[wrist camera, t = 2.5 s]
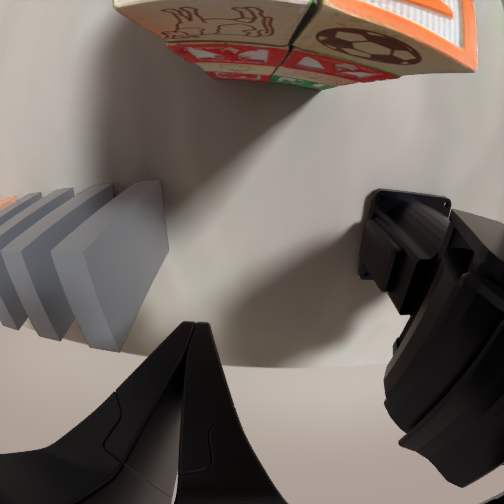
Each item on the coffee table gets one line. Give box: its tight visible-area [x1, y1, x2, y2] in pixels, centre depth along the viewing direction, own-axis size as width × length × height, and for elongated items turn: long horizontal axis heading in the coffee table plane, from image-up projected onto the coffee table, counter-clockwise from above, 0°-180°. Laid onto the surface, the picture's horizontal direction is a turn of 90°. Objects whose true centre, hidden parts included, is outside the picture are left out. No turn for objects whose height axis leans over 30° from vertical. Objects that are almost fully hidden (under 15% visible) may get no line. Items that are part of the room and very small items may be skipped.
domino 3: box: [1, 183, 115, 341], centre depth 13 cm, size 2×5×9 cm, turn 179°
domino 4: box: [50, 180, 169, 353], centre depth 13 cm, size 2×5×9 cm, turn 179°
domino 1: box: [0, 192, 42, 226], centre depth 13 cm, size 2×5×9 cm, turn 179°
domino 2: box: [0, 188, 74, 330], centre depth 13 cm, size 2×5×9 cm, turn 179°
